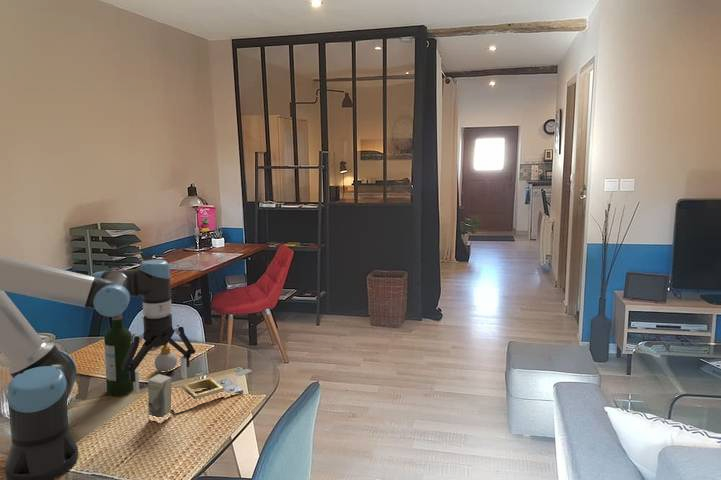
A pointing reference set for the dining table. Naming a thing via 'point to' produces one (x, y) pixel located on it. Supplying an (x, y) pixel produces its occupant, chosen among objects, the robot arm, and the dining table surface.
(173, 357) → the perfume bottle
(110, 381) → the wine bottle
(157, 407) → the box
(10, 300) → the robot arm
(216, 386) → the square hole socket
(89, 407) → the dining table surface
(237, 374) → the mounting bracket
